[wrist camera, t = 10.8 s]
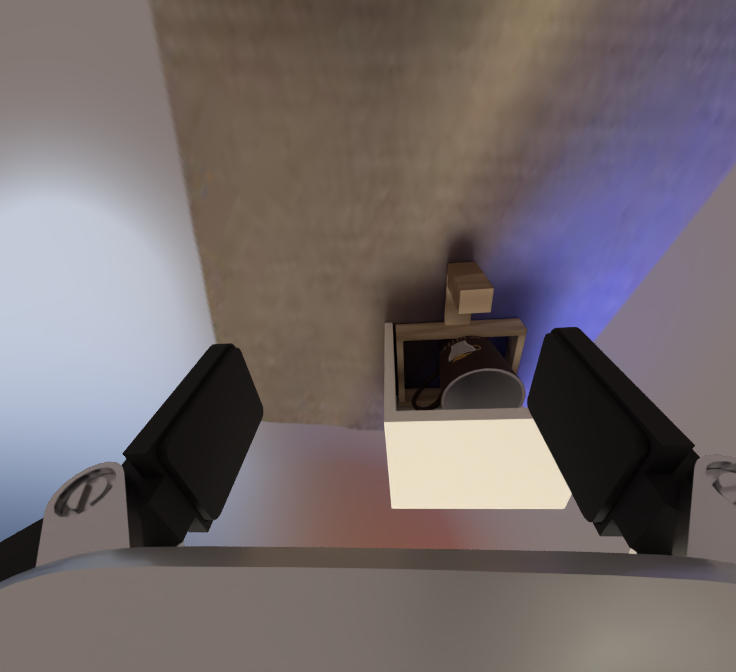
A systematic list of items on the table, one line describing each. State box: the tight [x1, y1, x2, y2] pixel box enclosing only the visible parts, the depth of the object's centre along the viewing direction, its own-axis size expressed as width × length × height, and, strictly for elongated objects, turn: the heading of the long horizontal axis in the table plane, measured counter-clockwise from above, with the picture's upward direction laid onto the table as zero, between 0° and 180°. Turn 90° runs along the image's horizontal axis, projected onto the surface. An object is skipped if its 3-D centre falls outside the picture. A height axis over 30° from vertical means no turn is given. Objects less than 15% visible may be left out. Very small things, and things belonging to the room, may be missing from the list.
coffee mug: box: [412, 336, 525, 411], centre depth 37 cm, size 12×9×10 cm
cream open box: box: [384, 323, 572, 509], centre depth 36 cm, size 14×18×16 cm
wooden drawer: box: [396, 262, 527, 406], centre depth 37 cm, size 20×15×7 cm
